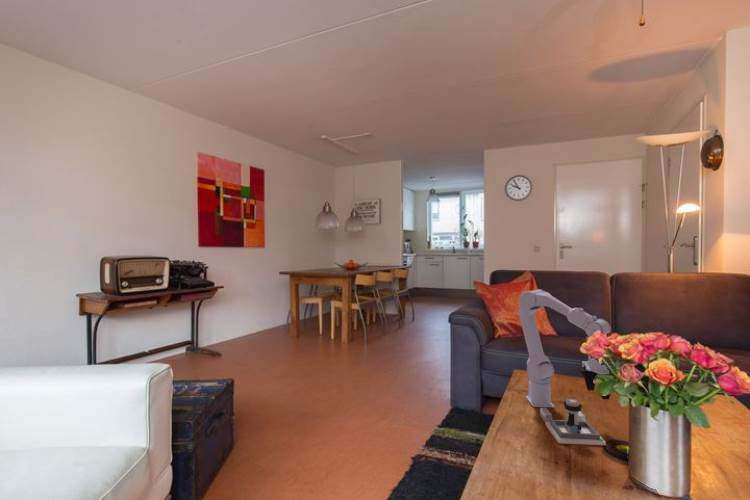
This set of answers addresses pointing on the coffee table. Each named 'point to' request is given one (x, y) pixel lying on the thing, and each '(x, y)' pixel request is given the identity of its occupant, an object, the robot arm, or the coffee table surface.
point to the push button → (572, 415)
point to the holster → (547, 415)
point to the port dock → (568, 437)
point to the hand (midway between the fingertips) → (597, 394)
